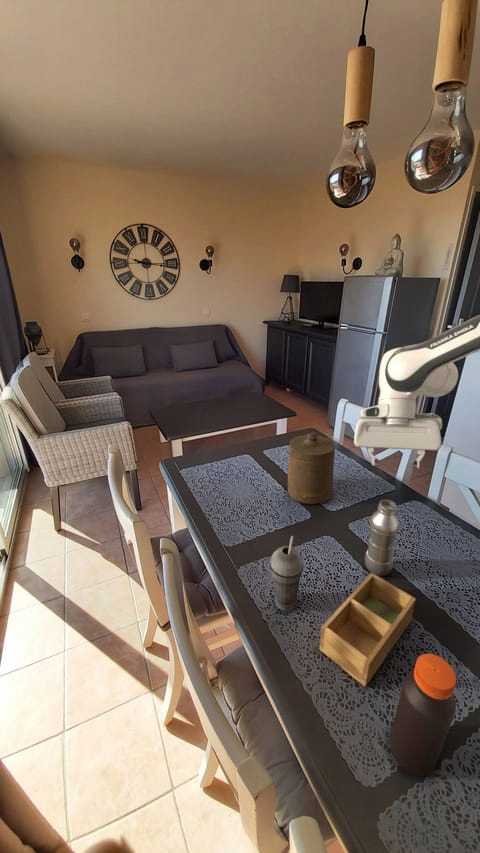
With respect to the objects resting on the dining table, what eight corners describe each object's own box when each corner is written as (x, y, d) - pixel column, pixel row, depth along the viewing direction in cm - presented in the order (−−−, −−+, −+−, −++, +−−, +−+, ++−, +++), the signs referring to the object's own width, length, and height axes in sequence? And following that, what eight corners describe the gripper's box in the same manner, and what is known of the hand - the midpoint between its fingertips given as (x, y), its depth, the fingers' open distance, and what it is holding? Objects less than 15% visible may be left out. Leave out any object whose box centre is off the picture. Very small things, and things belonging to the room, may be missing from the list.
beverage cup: (283, 584, 88) (285, 518, 80) (307, 602, 83) (312, 533, 75) (263, 602, 83) (262, 534, 75) (288, 622, 78) (290, 551, 70)
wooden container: (317, 476, 132) (321, 421, 123) (340, 498, 119) (346, 439, 110) (280, 484, 128) (281, 428, 119) (299, 508, 115) (302, 447, 106)
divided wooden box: (410, 620, 78) (416, 598, 75) (365, 687, 66) (369, 664, 63) (367, 593, 85) (371, 572, 82) (319, 649, 73) (321, 626, 70)
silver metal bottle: (383, 584, 87) (395, 517, 79) (358, 568, 92) (367, 503, 84) (396, 570, 91) (409, 504, 83) (371, 555, 96) (381, 492, 87)
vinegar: (389, 766, 56) (410, 686, 47) (389, 719, 61) (408, 640, 53) (438, 786, 53) (469, 706, 45) (433, 735, 59) (460, 655, 51)
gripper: (439, 414, 92) (438, 469, 91) (355, 413, 98) (353, 464, 97) (445, 411, 86) (444, 470, 85) (354, 410, 92) (353, 464, 91)
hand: (394, 467), depth 91 cm, fingers open, 8 cm apart
